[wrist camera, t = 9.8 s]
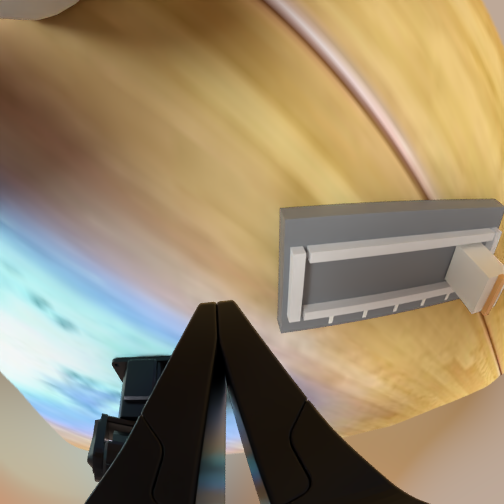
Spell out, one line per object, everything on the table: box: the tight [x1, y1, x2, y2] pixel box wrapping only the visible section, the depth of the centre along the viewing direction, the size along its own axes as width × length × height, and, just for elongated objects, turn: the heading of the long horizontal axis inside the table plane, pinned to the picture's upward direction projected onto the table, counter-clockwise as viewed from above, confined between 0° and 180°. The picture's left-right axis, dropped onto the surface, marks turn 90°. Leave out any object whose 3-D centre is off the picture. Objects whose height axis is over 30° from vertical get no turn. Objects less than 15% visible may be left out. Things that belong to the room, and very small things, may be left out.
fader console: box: [277, 199, 504, 333], centre depth 23 cm, size 10×20×2 cm, turn 92°
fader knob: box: [445, 242, 504, 316], centre depth 21 cm, size 4×3×5 cm
